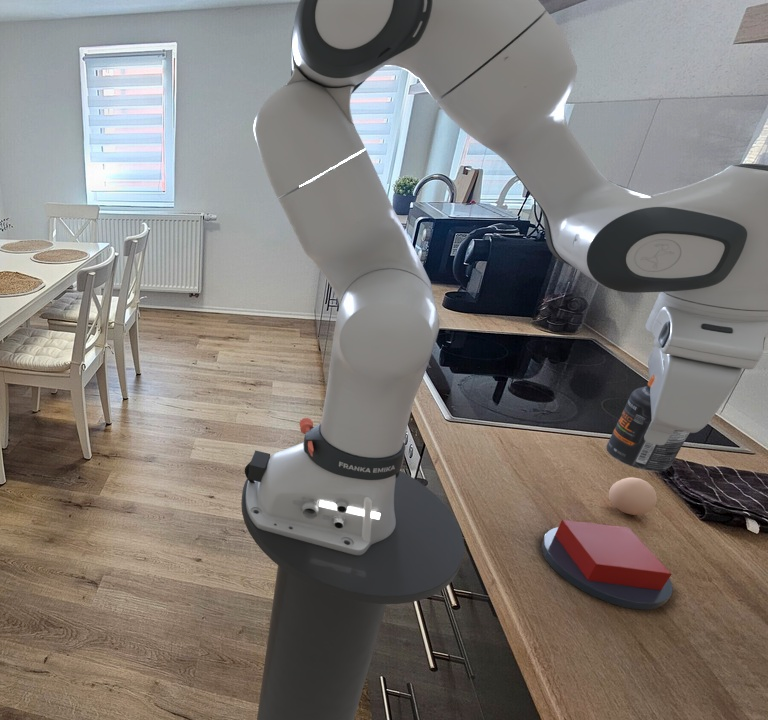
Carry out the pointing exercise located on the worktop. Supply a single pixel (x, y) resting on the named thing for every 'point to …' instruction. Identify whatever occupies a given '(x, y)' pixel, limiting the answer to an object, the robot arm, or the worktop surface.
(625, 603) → the plate
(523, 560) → the worktop surface
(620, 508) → the egg
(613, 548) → the red block
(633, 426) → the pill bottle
